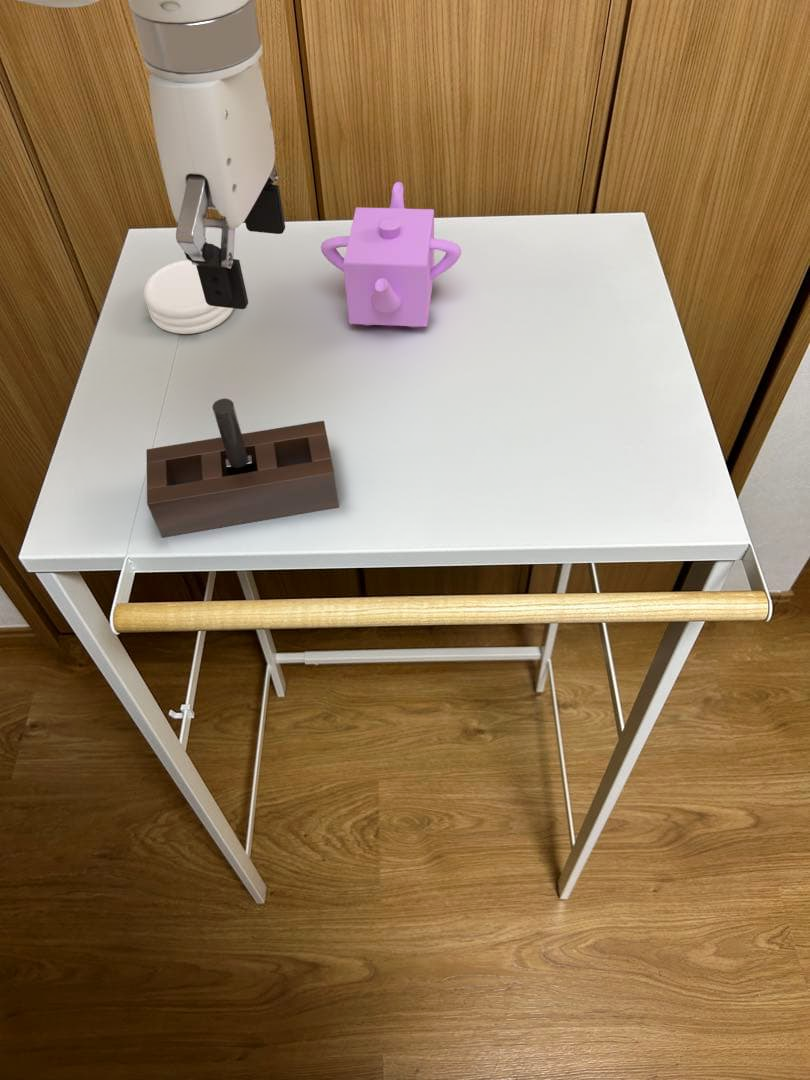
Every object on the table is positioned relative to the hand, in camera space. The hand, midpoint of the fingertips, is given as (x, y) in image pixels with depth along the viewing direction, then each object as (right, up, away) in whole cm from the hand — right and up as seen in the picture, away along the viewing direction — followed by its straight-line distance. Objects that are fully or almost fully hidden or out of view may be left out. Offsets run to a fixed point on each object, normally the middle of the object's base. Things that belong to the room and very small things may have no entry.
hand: (248, 266), depth 66 cm
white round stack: (-12, +6, +32) cm, 35 cm away
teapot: (+11, +6, +31) cm, 34 cm away
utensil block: (-3, -17, +15) cm, 23 cm away
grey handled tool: (-3, -17, +15) cm, 23 cm away
